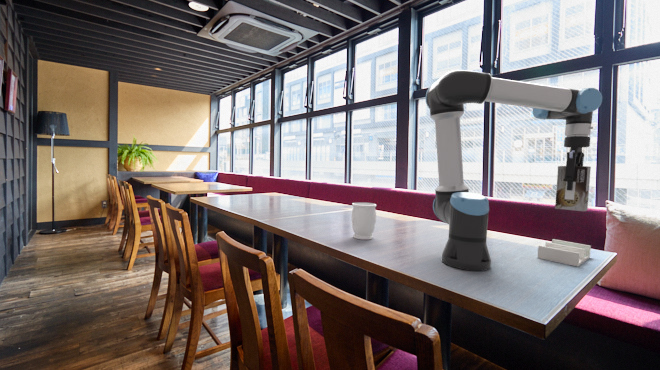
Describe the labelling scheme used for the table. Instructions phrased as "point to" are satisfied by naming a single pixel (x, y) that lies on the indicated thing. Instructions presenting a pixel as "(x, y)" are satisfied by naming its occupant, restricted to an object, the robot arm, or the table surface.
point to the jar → (363, 220)
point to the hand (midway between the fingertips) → (571, 198)
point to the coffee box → (580, 189)
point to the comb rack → (564, 252)
